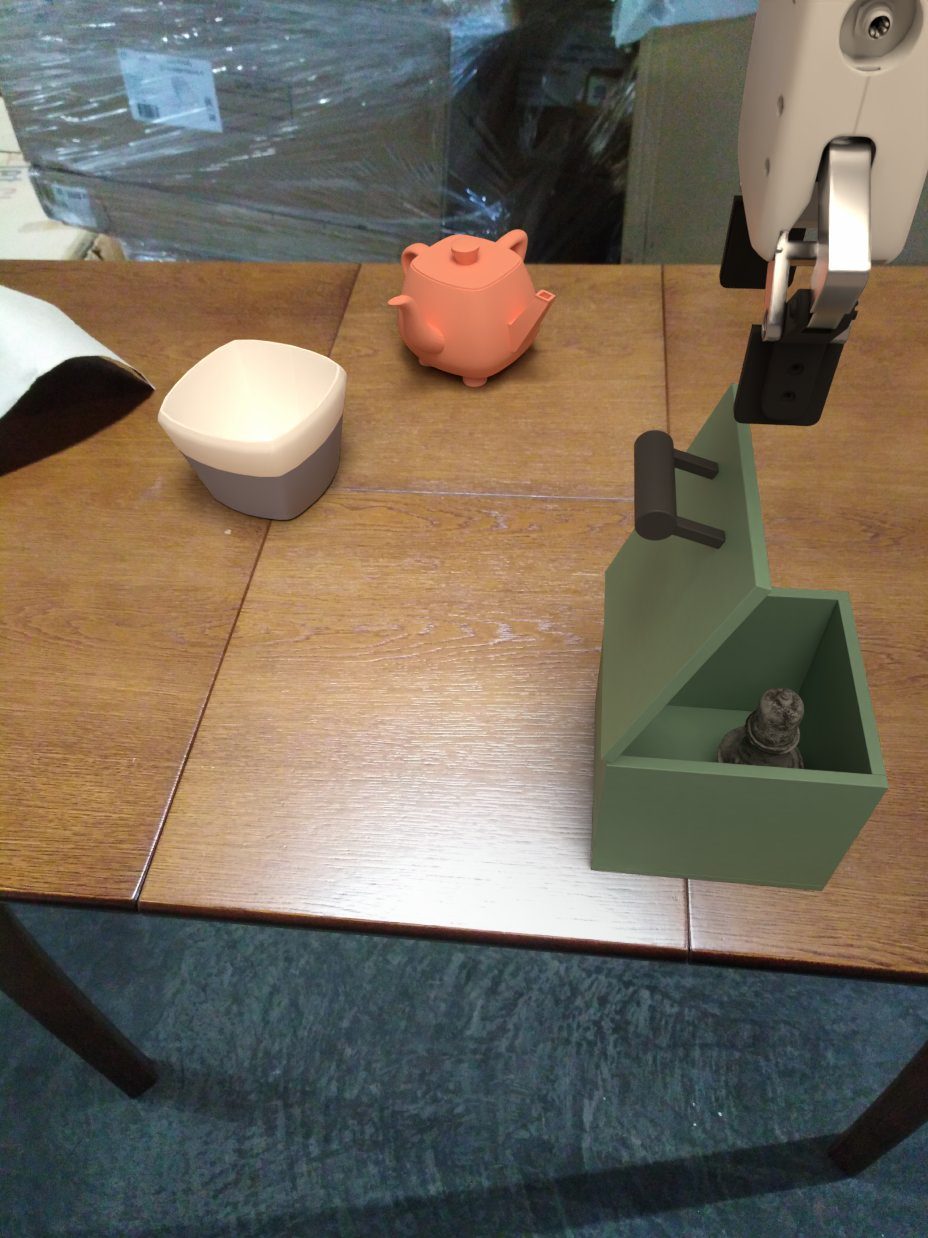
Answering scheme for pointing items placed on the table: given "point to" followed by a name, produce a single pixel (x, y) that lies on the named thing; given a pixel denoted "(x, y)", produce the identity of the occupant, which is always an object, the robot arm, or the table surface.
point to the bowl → (260, 425)
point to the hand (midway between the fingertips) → (763, 347)
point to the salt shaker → (767, 733)
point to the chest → (747, 794)
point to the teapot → (469, 304)
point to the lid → (680, 569)
